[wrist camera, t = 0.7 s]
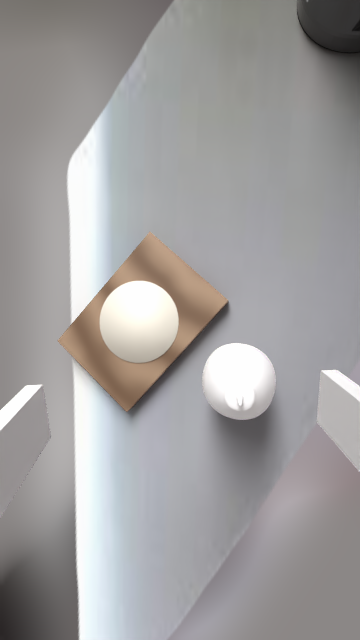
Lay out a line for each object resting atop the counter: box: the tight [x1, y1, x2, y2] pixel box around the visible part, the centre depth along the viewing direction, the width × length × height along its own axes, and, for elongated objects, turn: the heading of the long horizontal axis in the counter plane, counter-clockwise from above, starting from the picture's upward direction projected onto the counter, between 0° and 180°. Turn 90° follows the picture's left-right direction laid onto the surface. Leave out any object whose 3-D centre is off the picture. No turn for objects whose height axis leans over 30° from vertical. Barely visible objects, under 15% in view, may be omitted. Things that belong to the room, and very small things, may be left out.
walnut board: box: [58, 232, 228, 412], centre depth 41 cm, size 20×14×2 cm
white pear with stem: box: [202, 343, 276, 420], centre depth 30 cm, size 8×8×18 cm
